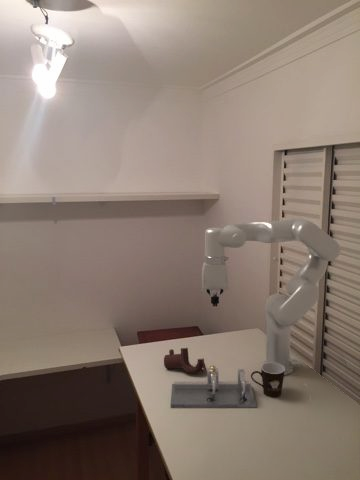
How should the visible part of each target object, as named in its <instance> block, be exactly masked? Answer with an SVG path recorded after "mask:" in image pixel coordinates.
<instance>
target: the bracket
mask: <svg viewBox="0 0 360 480" xmlns="http://www.w3.org/2000/svg"><path fill="white" fill-rule="evenodd" d="M168 353H169V354H164V357H163V366H164V367H165V369H178V368H180V369H181V368H183V369H184V370H185V371H186V372H187V373H189V374H193V373H205V372H207V366H206V363H205V358H204V357H201V358H198V359H197V362H196V365H195V366H193V365H192V364H191V363H190V360H189V359H190V358H189V348H188V347H181V348H180V353H175V352H174V349H169V351H168Z"/></svg>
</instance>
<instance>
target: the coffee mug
mask: <svg viewBox="0 0 360 480" xmlns="http://www.w3.org/2000/svg"><path fill="white" fill-rule="evenodd" d="M284 373H285V367H284V366H283V365H281V364H278V363H273V362H269V363H264V364H263V365H262V364H261V366H260V371H258V370H254V371H253V372H252V373H251V374H250V378H251V380H252V381H253V382H254V383H256V384H257V385H259V386H260V387H262V391H263V394H264V395H265V396H266V397H268V398H274V399H275V398H279V397H281V395H282V391H283V390H282V389H283V385H284V384H283V383H284V379H285V375H284ZM254 374H259V375H260V376H261V381H262V383H260V382H258V381H257V380H255V379H254V377H253V375H254Z"/></svg>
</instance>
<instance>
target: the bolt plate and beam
mask: <svg viewBox="0 0 360 480" xmlns="http://www.w3.org/2000/svg"><path fill="white" fill-rule="evenodd" d="M218 384H219V389H215V399H213V389H208V382H207V381H174V383H172V384H171V393H170V394H171V396H170V408H178V409H181V408H185V409H186V408H191V409H192V408H197V409H198V408H199V409H200V408H203V409H204V408H206V409H207V408H257V403H256V398H255V395H254V391H253V386H252V384H251V383H250V381H248V380H246V371H245V368H237V380H236V381H230V380H229V381H228V380H227V381H224V380H223V381H219V380H218Z"/></svg>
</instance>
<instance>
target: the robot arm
mask: <svg viewBox="0 0 360 480" xmlns="http://www.w3.org/2000/svg"><path fill="white" fill-rule="evenodd" d="M249 241H250V242H251V241H252V242H259V243H263V244H276V243H277V244H279V243H286V242H296V241H298V242H300V243H301V244H303V245H305V246H306V247H307V258H306V261H305V262H304V264H303V265H302V266H301V267H300V268H299V269H298V270H297V271H296V273H294V275H293V276H292V277H290V279H289V280H288V281H287V282H286V285H285V291H286V293H287V294H288V295H289V297H287V296H285V294H281V293H273V294H271V295H270V296H269V297H267V299H266V302H265V308H264V309H265V316H266V317H265V318H266V337H265V338H266V339H265V341H266V345H265V347H266V348H265V349H266V351H265V360H264V361H263V362H262V364H261V366H262V365H263V364H264V363H269V362H273V363H278V364H281V365H283V366H284V367H285V373H284V376H287V375H290V374H292V373H293V371H294V366H298V367H299V366H300V367H302V361H301V360H298V358H291V331H292V330H291V329H292V327H293V326H294V325H295V324H297V323H299V321H301V319H302V318H303V317H304V316H306V314H307V313H308V312H309V311H310V310H311V309H312V308H313V307H315V305H316V303H317V301H318V300H319V297H320V290H319V287H318V285H317V283H319V281H320V280H321V279H322V278H323V277H324V275H325V273H326V272H327V269H328V263H329V262H331V261H335V260H336V259H338V258H339V256H340V254H341V247H340V244H339V242H338V241H337V240H336V239H335V238H334V237H332V236H330V235H329V234H328V233H327V232H325V231H324V230H323V229H322V228H320V227H319V226H318V225H317V224H316V223H314V222H312V221H310V220H307V219H304V218H289V219H284V220H283V219H282V220H273V221H272V220H271V221H259V222H258V221H257V222H241V223H232V224H228V225H226V226H224V227H223V228H221V227H209V228H207V229H205V231H204V262H203V263H202V268H201V292H203V293H207V294H208V295H209V296H210V303H211V305H212V307H218V305H219V304H220V296H221V295H222V294H223V293H225V292H229V290H230V289H229V275H228V273H229V272H228V265H227V262H226V261H229V256H226V255H225V250H226V248H233V249H238V248H242V247H243V246H244V245H245V244H246V242H249ZM214 290H215V291H216V292H215V293H214Z"/></svg>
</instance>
